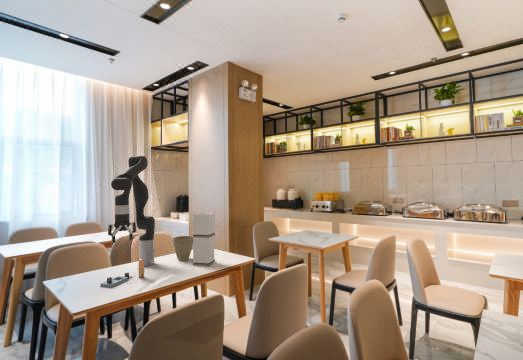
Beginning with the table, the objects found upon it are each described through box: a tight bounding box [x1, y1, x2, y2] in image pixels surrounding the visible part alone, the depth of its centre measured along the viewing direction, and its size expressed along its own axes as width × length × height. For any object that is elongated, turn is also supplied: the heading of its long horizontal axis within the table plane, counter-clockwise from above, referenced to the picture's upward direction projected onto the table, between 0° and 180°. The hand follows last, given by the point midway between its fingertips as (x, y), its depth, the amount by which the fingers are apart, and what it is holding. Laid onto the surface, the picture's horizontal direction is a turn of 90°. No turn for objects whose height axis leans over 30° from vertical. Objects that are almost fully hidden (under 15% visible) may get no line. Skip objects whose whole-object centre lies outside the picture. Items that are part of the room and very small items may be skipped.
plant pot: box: [172, 235, 193, 262], centre depth 212 cm, size 15×15×16 cm
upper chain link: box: [100, 275, 128, 288], centre depth 159 cm, size 12×7×6 cm, turn 164°
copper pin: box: [138, 259, 145, 279], centre depth 168 cm, size 3×3×12 cm
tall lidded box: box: [192, 212, 216, 267], centre depth 201 cm, size 11×11×35 cm
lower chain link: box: [121, 272, 134, 284], centre depth 164 cm, size 12×7×4 cm, turn 164°
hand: (122, 241), depth 164 cm, fingers open, 8 cm apart
